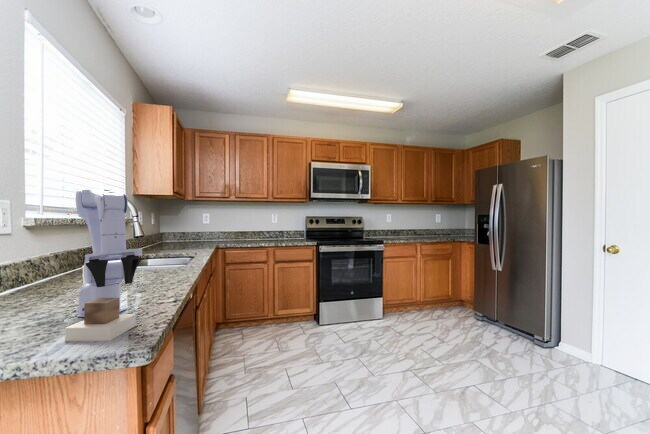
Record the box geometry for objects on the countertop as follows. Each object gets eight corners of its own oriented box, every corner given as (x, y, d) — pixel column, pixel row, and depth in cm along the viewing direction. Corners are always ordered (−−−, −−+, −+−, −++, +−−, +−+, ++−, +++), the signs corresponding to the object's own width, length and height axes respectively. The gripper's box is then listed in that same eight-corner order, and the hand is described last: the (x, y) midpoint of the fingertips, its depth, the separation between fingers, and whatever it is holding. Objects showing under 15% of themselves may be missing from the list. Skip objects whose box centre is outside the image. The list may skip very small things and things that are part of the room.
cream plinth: (64, 343, 69) (65, 327, 69) (96, 327, 79) (97, 314, 79) (109, 342, 69) (109, 327, 69) (135, 327, 79) (135, 314, 79)
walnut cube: (84, 324, 72) (84, 303, 72) (98, 317, 77) (99, 297, 77) (105, 324, 72) (106, 303, 72) (119, 317, 77) (119, 297, 77)
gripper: (75, 238, 80) (76, 290, 78) (130, 231, 80) (132, 283, 79) (95, 239, 87) (96, 287, 85) (145, 233, 87) (147, 281, 85)
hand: (114, 285), depth 82 cm, fingers open, 7 cm apart
